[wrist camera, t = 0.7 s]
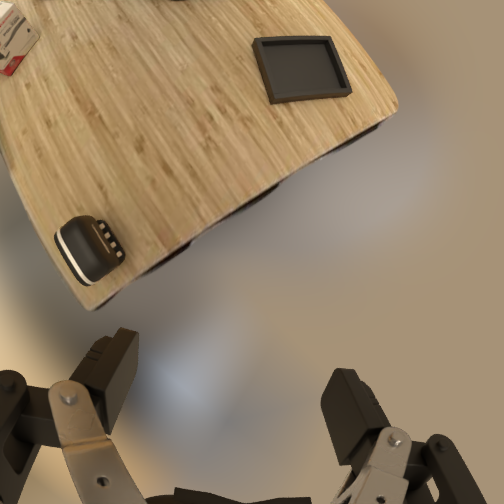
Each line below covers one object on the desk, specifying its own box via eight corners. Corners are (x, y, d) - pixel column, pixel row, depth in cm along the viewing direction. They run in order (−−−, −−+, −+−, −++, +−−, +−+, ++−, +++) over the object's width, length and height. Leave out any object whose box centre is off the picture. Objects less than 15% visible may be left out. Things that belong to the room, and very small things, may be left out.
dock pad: (251, 45, 36) (254, 37, 34) (325, 42, 38) (330, 36, 36) (270, 104, 38) (274, 98, 35) (346, 97, 40) (352, 92, 37)
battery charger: (134, 256, 36) (111, 271, 25) (112, 272, 36) (83, 292, 25) (106, 211, 35) (74, 209, 24) (85, 228, 35) (47, 232, 24)
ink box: (10, 77, 28) (-25, 49, 17) (-3, 71, 27) (-37, 45, 16) (41, 36, 28) (14, 1, 17) (26, 31, 27) (0, -1, 16)
